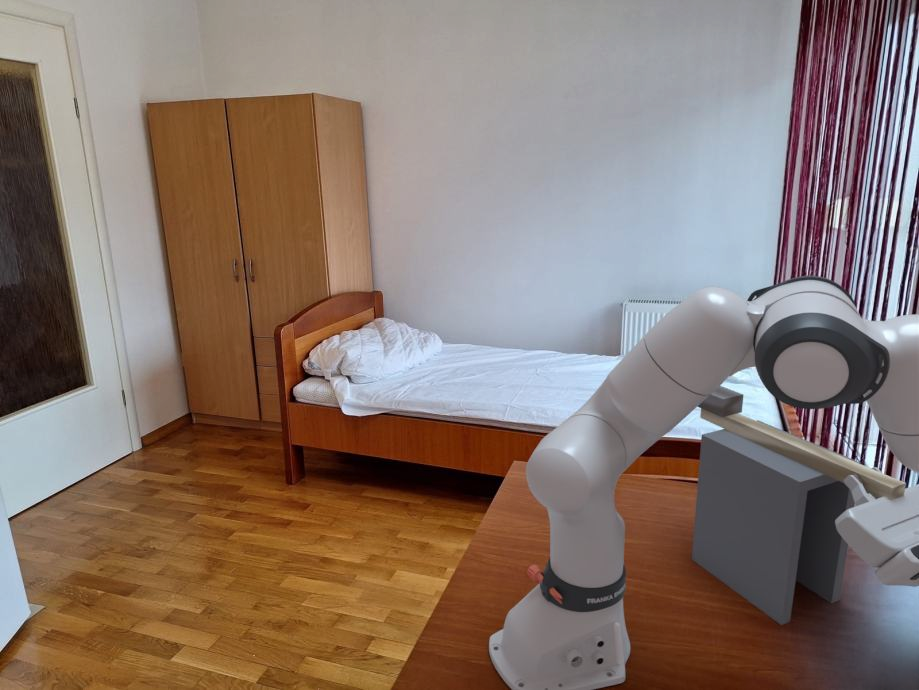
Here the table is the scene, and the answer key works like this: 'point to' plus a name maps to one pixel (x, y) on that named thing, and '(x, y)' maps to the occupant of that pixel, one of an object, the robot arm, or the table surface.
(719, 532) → the charcoal shelf
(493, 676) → the table surface
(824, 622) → the table surface
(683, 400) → the robot arm
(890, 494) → the birch beam
